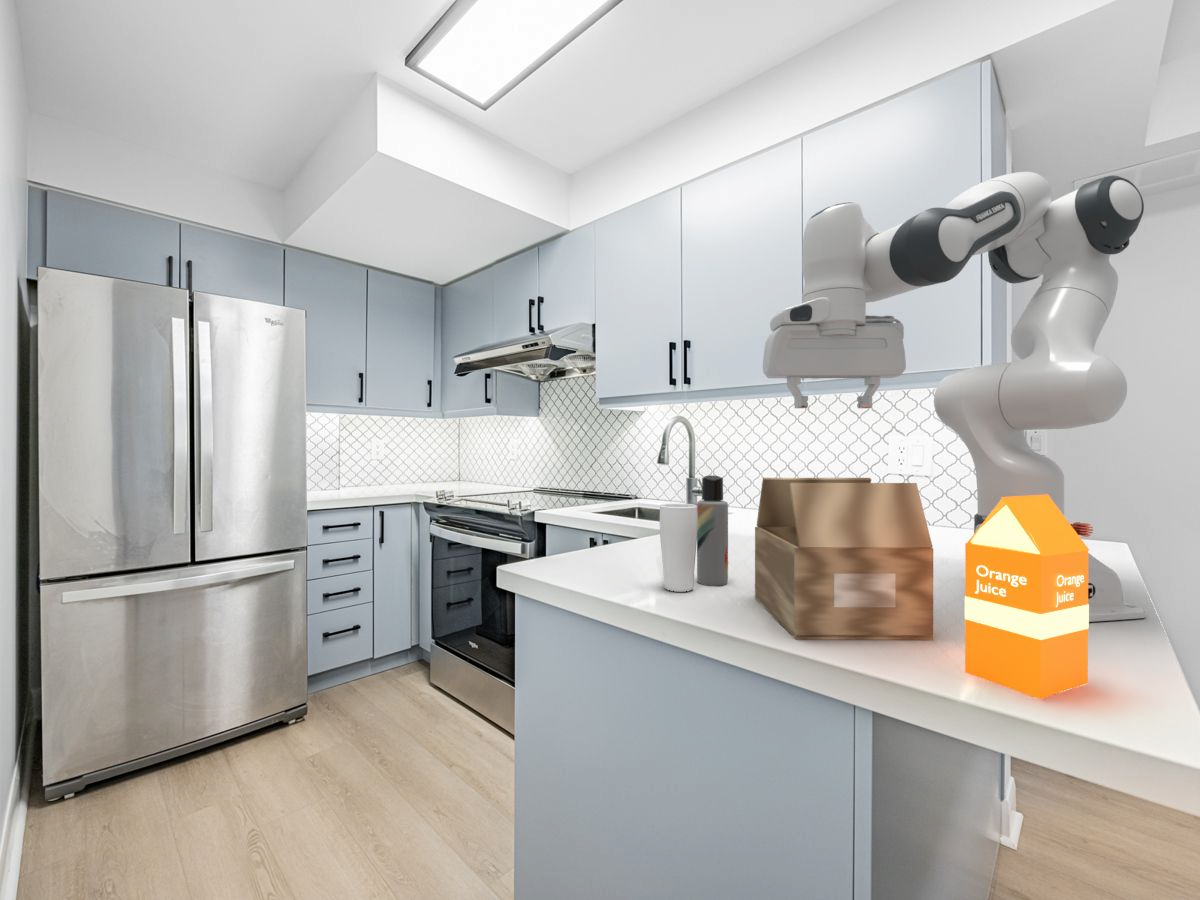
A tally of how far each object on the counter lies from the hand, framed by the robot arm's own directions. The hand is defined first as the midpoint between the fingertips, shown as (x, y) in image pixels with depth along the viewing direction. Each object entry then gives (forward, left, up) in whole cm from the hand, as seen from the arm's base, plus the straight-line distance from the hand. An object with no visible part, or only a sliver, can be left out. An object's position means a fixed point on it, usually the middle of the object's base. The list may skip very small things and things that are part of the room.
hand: (832, 408), depth 83 cm
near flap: (0, +8, -15) cm, 17 cm away
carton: (0, 0, -31) cm, 31 cm away
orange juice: (-12, +22, -31) cm, 40 cm away
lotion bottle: (+14, -21, -31) cm, 40 cm away
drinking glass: (+21, -16, -31) cm, 41 cm away
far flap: (0, -8, -15) cm, 17 cm away
